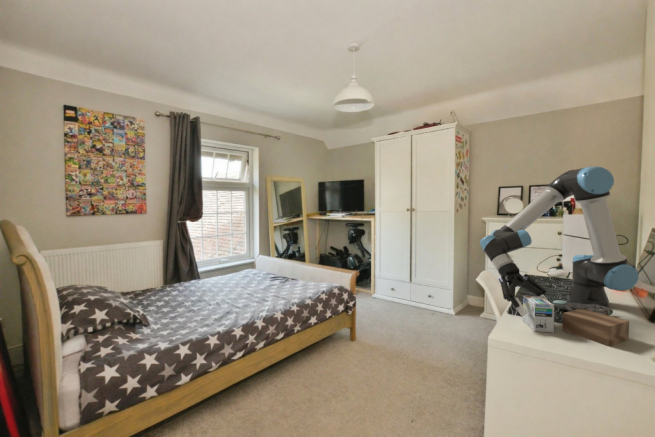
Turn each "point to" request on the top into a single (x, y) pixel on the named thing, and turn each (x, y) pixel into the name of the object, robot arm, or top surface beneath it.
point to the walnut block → (596, 326)
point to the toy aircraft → (582, 307)
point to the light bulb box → (538, 313)
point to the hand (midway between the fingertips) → (538, 312)
